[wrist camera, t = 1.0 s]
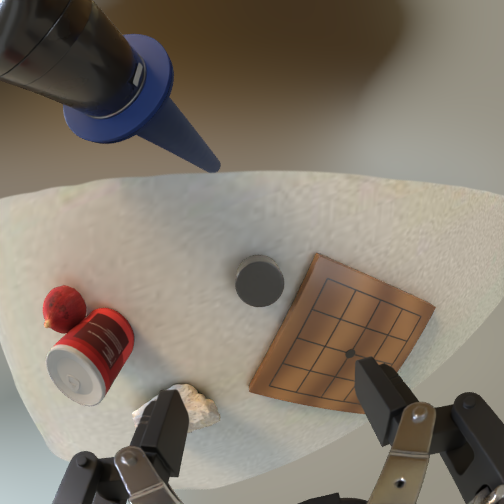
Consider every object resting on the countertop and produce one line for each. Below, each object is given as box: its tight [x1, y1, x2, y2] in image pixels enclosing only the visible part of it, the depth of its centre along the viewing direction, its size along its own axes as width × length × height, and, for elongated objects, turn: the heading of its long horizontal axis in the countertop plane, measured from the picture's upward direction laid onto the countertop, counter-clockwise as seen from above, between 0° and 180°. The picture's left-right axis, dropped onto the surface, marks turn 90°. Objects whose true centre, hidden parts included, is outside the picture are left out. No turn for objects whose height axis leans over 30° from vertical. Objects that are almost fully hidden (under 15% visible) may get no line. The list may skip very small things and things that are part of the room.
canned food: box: [46, 308, 134, 406], centre depth 27 cm, size 8×8×11 cm
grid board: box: [249, 253, 436, 414], centre depth 33 cm, size 20×20×2 cm
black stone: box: [236, 255, 284, 307], centre depth 30 cm, size 5×5×3 cm
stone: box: [132, 384, 220, 433], centre depth 31 cm, size 8×12×10 cm
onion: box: [43, 285, 86, 333], centre depth 27 cm, size 6×6×8 cm
